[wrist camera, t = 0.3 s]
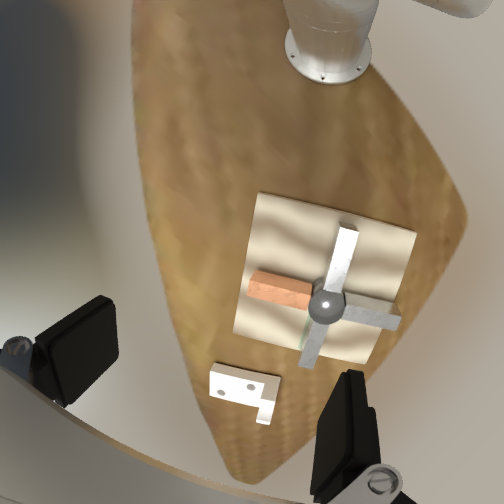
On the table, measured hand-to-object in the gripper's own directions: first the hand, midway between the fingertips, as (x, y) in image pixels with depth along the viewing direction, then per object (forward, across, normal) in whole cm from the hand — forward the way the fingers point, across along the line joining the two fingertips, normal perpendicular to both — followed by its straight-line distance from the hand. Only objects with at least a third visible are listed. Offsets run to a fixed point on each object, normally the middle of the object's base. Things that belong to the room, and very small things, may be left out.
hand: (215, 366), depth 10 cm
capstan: (+33, -7, +9) cm, 35 cm away
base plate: (+34, -6, +9) cm, 36 cm away
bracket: (+36, +2, +33) cm, 49 cm away
